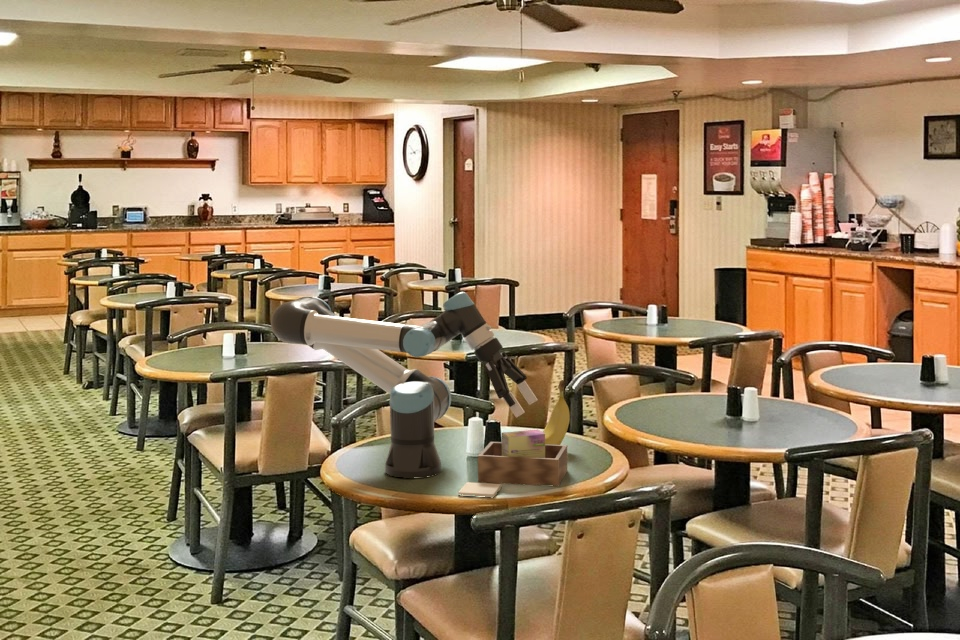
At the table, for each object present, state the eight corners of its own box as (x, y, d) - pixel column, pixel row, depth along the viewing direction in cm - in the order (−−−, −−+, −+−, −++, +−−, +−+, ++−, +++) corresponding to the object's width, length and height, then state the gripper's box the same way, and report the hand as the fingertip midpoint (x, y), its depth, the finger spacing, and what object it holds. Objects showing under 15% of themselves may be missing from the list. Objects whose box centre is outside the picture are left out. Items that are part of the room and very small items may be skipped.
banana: (534, 465, 294) (533, 393, 291) (516, 462, 297) (515, 391, 294) (574, 447, 312) (574, 379, 310) (556, 444, 316) (556, 378, 313)
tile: (458, 496, 266) (458, 492, 266) (466, 485, 275) (466, 482, 275) (493, 498, 264) (493, 494, 264) (501, 487, 273) (501, 484, 273)
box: (537, 471, 287) (537, 428, 286) (545, 477, 282) (545, 433, 280) (501, 475, 284) (500, 432, 283) (508, 481, 279) (508, 436, 277)
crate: (478, 482, 278) (477, 455, 277) (490, 466, 293) (490, 441, 292) (558, 486, 273) (558, 459, 273) (567, 470, 288) (567, 445, 287)
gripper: (481, 345, 280) (526, 413, 280) (507, 328, 304) (549, 391, 303) (459, 360, 283) (503, 427, 282) (487, 342, 306) (528, 404, 306)
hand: (527, 408), depth 293 cm, fingers open, 13 cm apart
